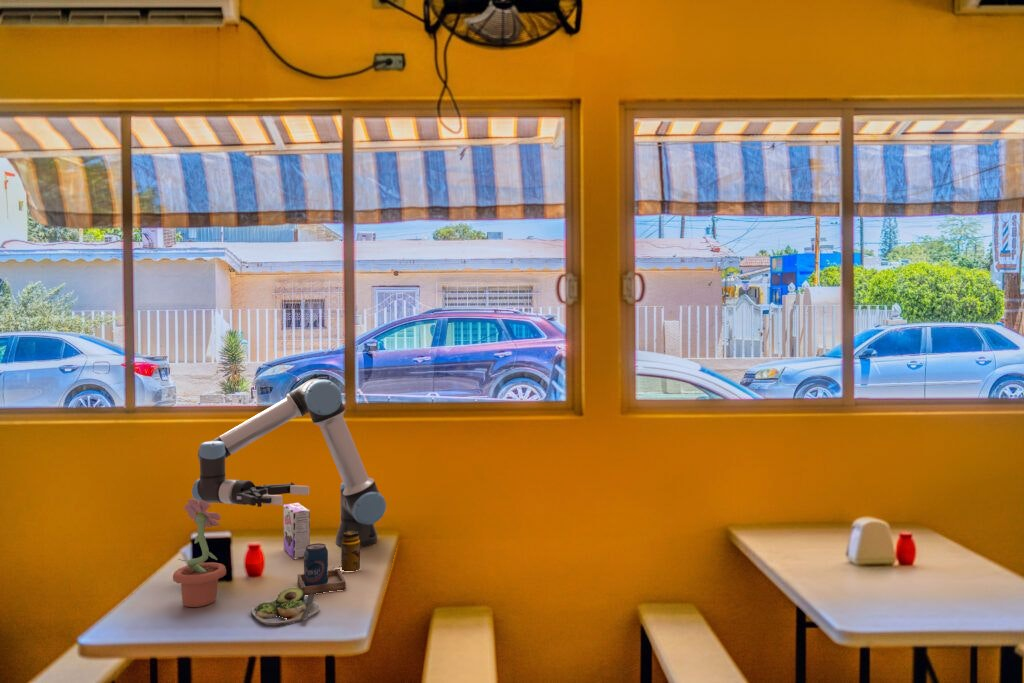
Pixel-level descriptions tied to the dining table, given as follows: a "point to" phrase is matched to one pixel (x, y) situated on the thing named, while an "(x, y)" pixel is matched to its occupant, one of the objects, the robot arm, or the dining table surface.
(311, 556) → the soda can
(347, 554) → the condiment
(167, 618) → the dining table surface
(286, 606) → the avocado toast plate
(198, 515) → the decorative flower
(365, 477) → the robot arm
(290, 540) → the candy box
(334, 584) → the walnut tray
